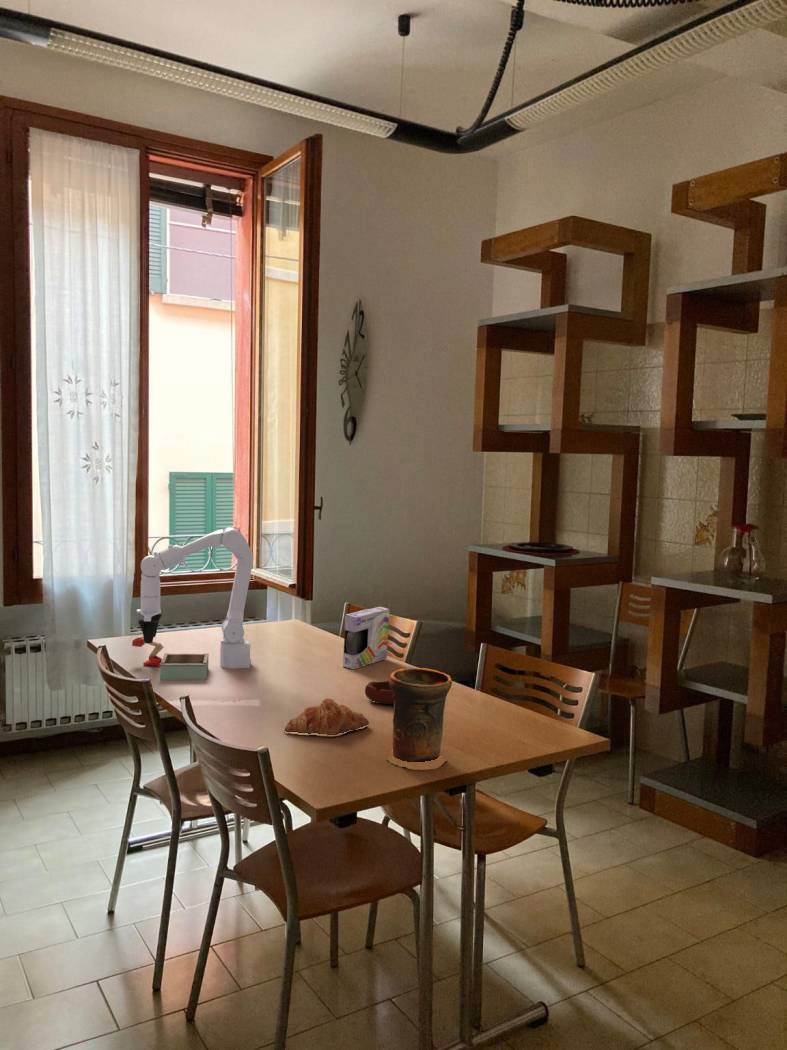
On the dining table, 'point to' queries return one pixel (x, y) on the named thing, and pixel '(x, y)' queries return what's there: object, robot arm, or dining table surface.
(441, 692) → the vessel
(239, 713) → the dining table surface
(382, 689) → the ashtray
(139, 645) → the red desk lamp
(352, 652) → the cake pan box
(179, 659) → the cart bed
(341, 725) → the pastry
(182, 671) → the panel
